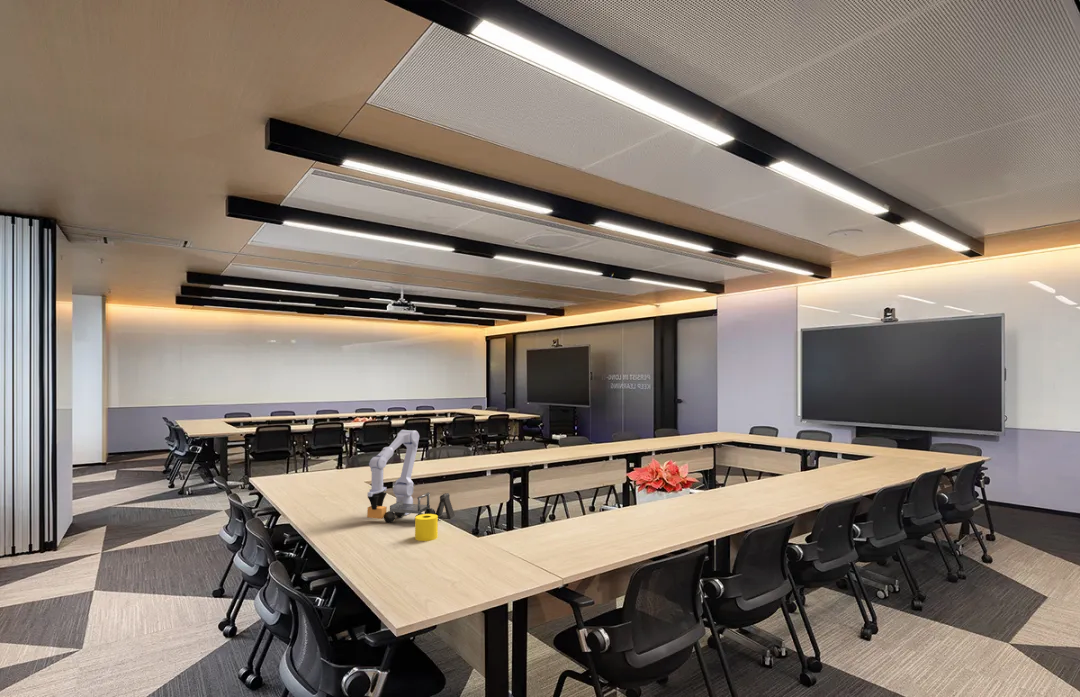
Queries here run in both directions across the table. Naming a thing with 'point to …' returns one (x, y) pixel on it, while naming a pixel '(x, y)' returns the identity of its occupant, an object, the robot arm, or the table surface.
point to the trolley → (408, 509)
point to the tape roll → (426, 527)
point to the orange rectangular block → (376, 512)
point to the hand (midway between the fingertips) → (377, 508)
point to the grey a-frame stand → (448, 507)
